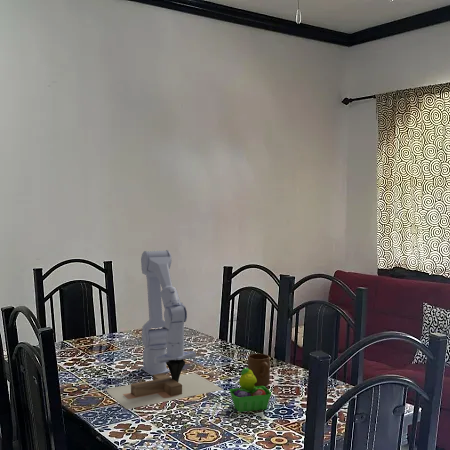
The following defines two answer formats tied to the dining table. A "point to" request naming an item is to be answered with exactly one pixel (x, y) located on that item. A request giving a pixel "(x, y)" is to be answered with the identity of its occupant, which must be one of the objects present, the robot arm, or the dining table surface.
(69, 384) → the dining table surface
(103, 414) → the dining table surface
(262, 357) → the mug
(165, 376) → the t block
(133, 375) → the dining table surface
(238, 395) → the fruit basket
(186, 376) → the mat
